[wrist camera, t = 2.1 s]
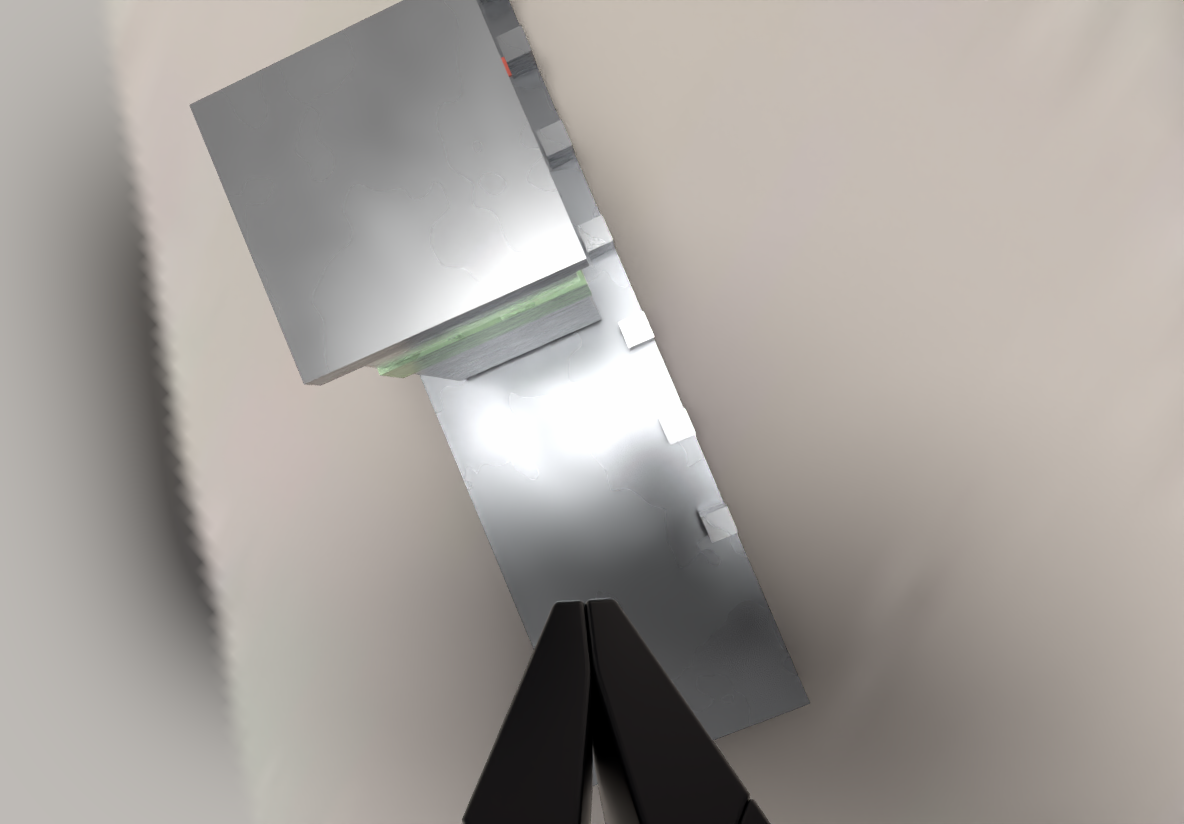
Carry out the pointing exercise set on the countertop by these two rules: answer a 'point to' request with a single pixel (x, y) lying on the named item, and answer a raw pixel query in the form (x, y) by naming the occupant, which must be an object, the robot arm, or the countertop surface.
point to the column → (398, 200)
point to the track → (611, 471)
